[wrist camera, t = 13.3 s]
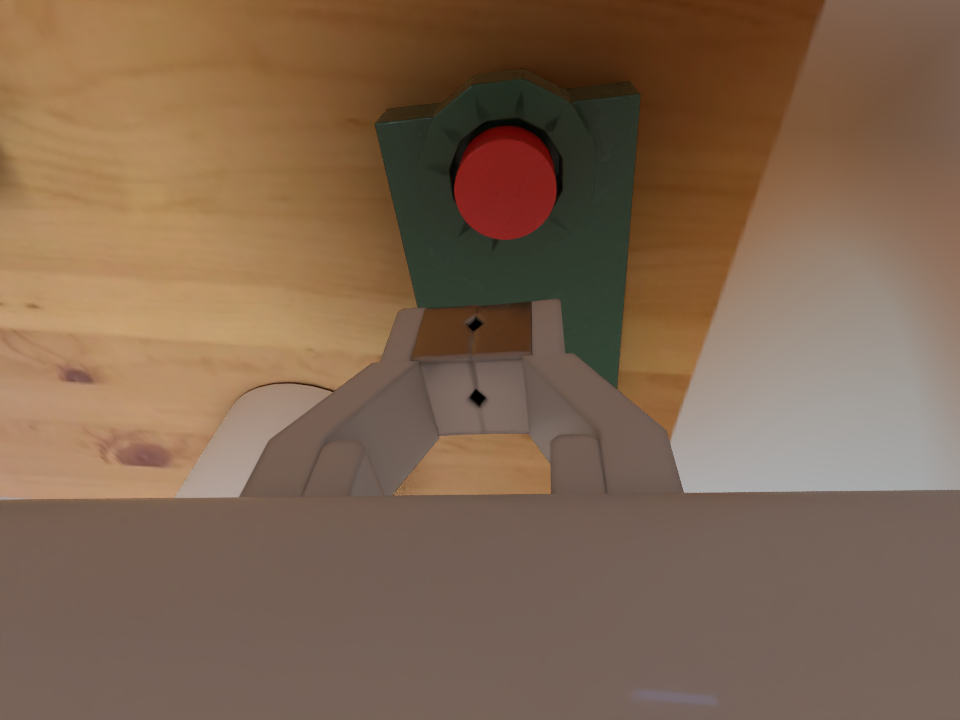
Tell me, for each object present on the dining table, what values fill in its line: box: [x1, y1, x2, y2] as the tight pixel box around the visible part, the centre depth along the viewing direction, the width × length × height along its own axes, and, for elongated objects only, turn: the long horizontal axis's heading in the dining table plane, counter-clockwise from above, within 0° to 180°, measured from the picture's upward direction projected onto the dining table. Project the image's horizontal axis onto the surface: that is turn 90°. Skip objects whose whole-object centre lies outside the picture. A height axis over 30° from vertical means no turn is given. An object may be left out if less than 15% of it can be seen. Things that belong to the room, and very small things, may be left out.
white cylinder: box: [174, 384, 333, 498], centre depth 31 cm, size 12×12×12 cm
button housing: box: [375, 69, 641, 389], centre depth 24 cm, size 19×10×4 cm, turn 7°
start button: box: [454, 125, 557, 240], centre depth 18 cm, size 4×4×2 cm
